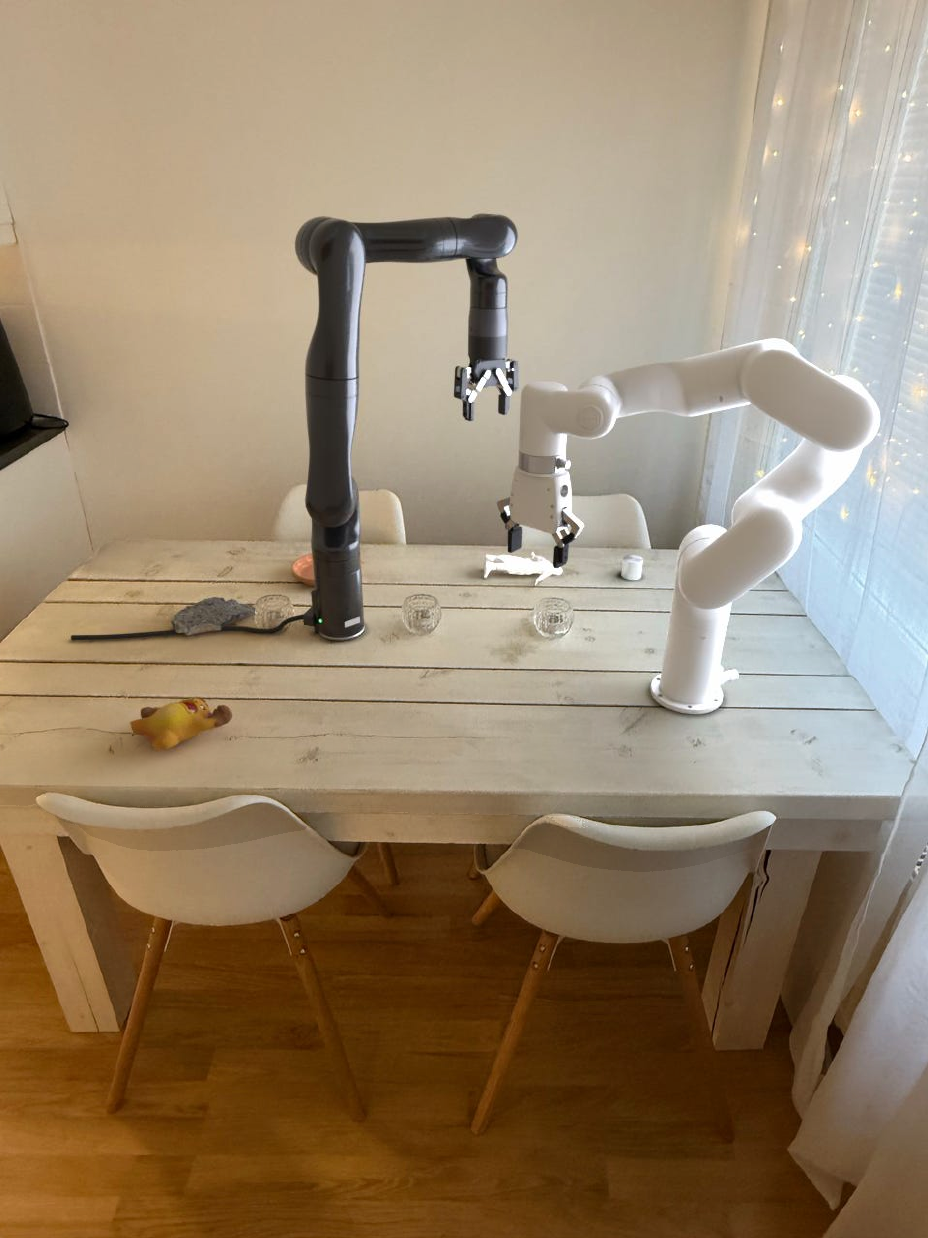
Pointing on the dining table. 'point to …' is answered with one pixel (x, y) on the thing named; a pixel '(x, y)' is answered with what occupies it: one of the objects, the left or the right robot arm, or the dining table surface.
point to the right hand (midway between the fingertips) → (536, 557)
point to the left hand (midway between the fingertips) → (486, 417)
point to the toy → (179, 721)
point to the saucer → (304, 570)
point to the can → (632, 567)
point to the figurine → (520, 565)
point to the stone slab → (210, 615)
